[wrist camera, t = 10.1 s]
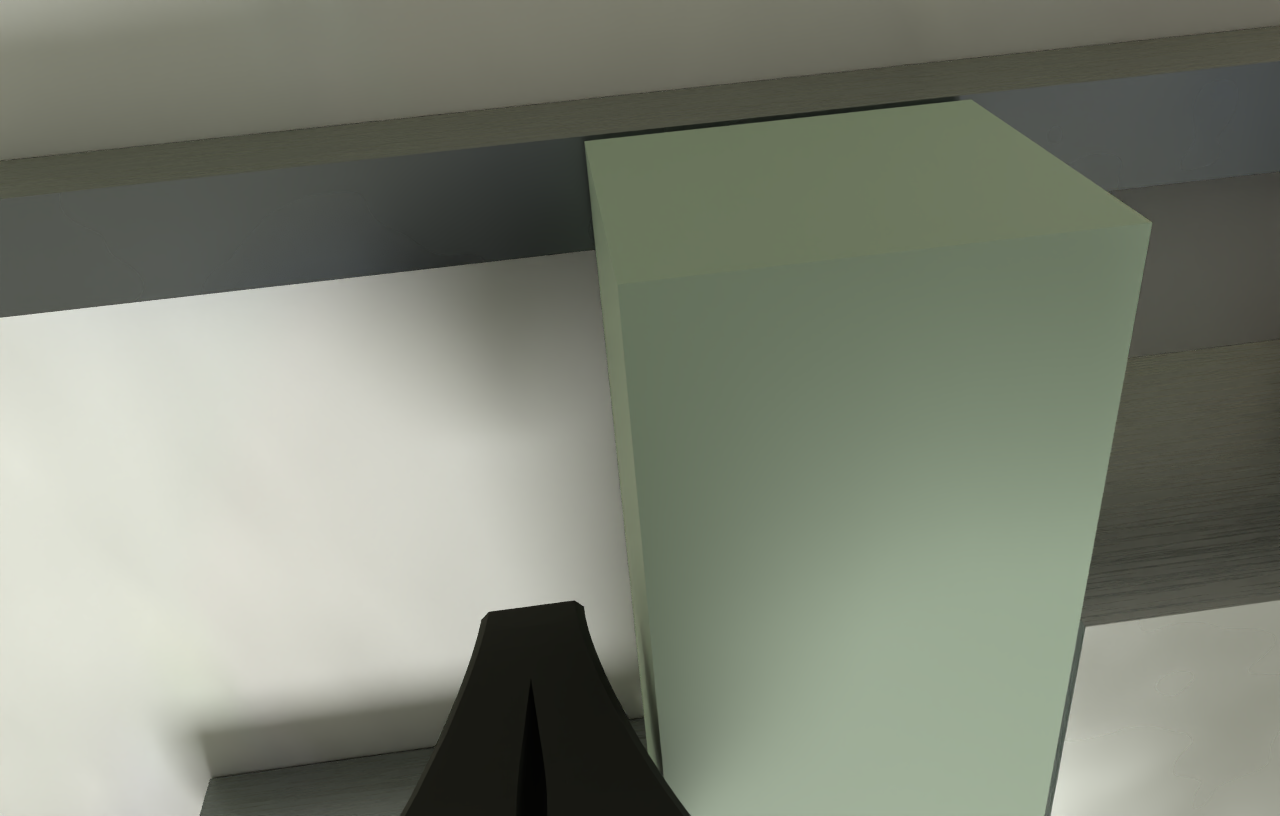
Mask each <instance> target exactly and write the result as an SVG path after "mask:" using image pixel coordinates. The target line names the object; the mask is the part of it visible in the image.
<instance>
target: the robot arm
mask: <svg viewBox="0 0 1280 816" xmlns="http://www.w3.org/2000/svg"><path fill="white" fill-rule="evenodd" d="M400 816H691V815H690V814H689V813H688V811H687V810H686V809H685V807H684V806H683V805H682V803H681V802H680V801H679V799H678V798H677V796H676V795H675V793H674V792H673V791H672V789H671V788H670V786H669V785H668V783H667V782H666V780H665V779H664V777H663V776H662V774H661V773H660V771H659V770H658V768H657V767H656V765H655V763H654V762H653V760H652V759H651V757H650V755H649V754H648V752H647V751H646V749H645V747H644V746H643V744H642V743H641V741H640V739H639V737H638V736H637V734H636V732H635V730H634V729H633V727H632V725H631V723H630V722H629V720H628V718H627V716H626V714H625V712H624V710H623V708H622V706H621V704H620V703H619V701H618V699H617V697H616V695H615V693H614V691H613V689H612V687H611V685H610V683H609V681H608V679H607V676H606V674H605V672H604V670H603V667H602V665H601V663H600V660H599V658H598V655H597V653H596V650H595V648H594V645H593V642H592V639H591V636H590V633H589V630H588V626H587V622H586V618H585V611H584V606H582V605H581V604H579V603H578V602H576V601H567V602H560V603H552V604H545V605H537V606H530V607H522V608H515V609H507V610H500V611H492V612H488V613H487V615H486V616H485V617H484V618H483V619H482V620H481V624H480V628H479V633H478V637H477V640H476V643H475V647H474V650H473V653H472V656H471V660H470V662H469V665H468V668H467V671H466V674H465V677H464V679H463V682H462V685H461V687H460V690H459V693H458V695H457V698H456V700H455V702H454V705H453V707H452V709H451V712H450V714H449V716H448V719H447V721H446V724H445V726H444V728H443V731H442V733H441V735H440V738H439V740H438V742H437V744H436V746H435V749H434V751H433V753H432V755H431V757H430V759H429V761H428V763H427V765H426V767H425V769H424V771H423V773H422V775H421V777H420V779H419V781H418V783H417V785H416V787H415V789H414V791H413V793H412V795H411V797H410V798H409V800H408V802H407V804H406V806H405V808H404V809H403V811H402V813H401V815H400Z"/></svg>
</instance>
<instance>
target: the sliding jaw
mask: <svg viewBox="0 0 1280 816" xmlns="http://www.w3.org/2000/svg"><path fill="white" fill-rule="evenodd" d="M584 143H585V153H586V162H587V172H588V181H589V191H590V201H591V210H592V220H593V230H594V239H595V249H596V259H597V268H598V278H599V287H600V297H601V307H602V316H603V326H604V336H605V345H606V355H607V364H608V374H609V384H610V393H611V403H612V413H613V422H614V432H615V442H616V451H617V461H618V470H619V480H620V490H621V499H622V509H623V519H624V528H625V538H626V547H627V557H628V567H629V576H630V586H631V596H632V605H633V615H634V625H635V634H636V644H637V653H638V663H639V673H640V682H641V692H642V702H643V711H644V721H645V730H646V740H647V750H648V754H649V755H650V757H651V759H652V760H653V762H654V763H655V765H656V767H657V768H658V770H659V771H660V773H661V774H662V776H663V777H664V779H665V780H666V782H667V783H668V785H669V786H670V788H671V789H672V791H673V792H674V793H675V795H676V796H677V798H678V799H679V801H680V802H681V803H682V805H683V806H684V807H685V809H686V810H687V811H688V813H689V814H690V815H691V816H1044V815H1045V809H1046V804H1047V798H1048V793H1049V787H1050V782H1051V776H1052V771H1053V765H1054V760H1055V755H1056V749H1057V744H1058V738H1059V733H1060V727H1061V722H1062V716H1063V711H1064V705H1065V700H1066V694H1067V689H1068V683H1069V678H1070V672H1071V667H1072V661H1073V656H1074V650H1075V645H1076V639H1077V634H1078V628H1079V623H1080V617H1081V612H1082V606H1083V601H1084V595H1085V590H1086V585H1087V579H1088V574H1089V568H1090V563H1091V557H1092V552H1093V546H1094V541H1095V535H1096V530H1097V524H1098V519H1099V513H1100V508H1101V502H1102V497H1103V491H1104V486H1105V480H1106V475H1107V469H1108V464H1109V458H1110V453H1111V447H1112V442H1113V436H1114V431H1115V425H1116V420H1117V414H1118V409H1119V404H1120V398H1121V393H1122V387H1123V382H1124V376H1125V371H1126V365H1127V360H1128V354H1129V349H1130V343H1131V338H1132V332H1133V327H1134V321H1135V316H1136V310H1137V305H1138V299H1139V294H1140V288H1141V283H1142V277H1143V272H1144V266H1145V261H1146V255H1147V250H1148V244H1149V239H1150V234H1151V228H1152V223H1153V222H1151V221H1150V220H1148V219H1147V218H1145V217H1144V216H1142V215H1141V214H1139V213H1138V212H1136V211H1135V210H1133V209H1132V208H1131V207H1129V206H1128V205H1126V204H1125V203H1123V202H1122V201H1120V200H1119V199H1117V198H1116V197H1114V196H1113V195H1111V194H1110V193H1108V192H1107V191H1105V190H1104V189H1103V188H1101V187H1100V186H1098V185H1097V184H1095V183H1094V182H1092V181H1091V180H1089V179H1088V178H1086V177H1085V176H1083V175H1082V174H1080V173H1079V172H1077V171H1076V170H1075V169H1073V168H1072V167H1070V166H1069V165H1067V164H1066V163H1064V162H1063V161H1061V160H1060V159H1058V158H1057V157H1055V156H1054V155H1052V154H1051V153H1049V152H1048V151H1047V150H1045V149H1044V148H1042V147H1041V146H1039V145H1038V144H1036V143H1035V142H1033V141H1032V140H1030V139H1029V138H1027V137H1026V136H1024V135H1023V134H1021V133H1020V132H1018V131H1017V130H1016V129H1014V128H1013V127H1011V126H1010V125H1008V124H1007V123H1005V122H1004V121H1002V120H1001V119H999V118H998V117H996V116H995V115H993V114H992V113H990V112H989V111H988V110H986V109H985V108H983V107H982V106H980V105H979V104H977V103H976V102H974V101H973V100H961V101H952V102H943V103H934V104H924V105H915V106H906V107H896V108H887V109H878V110H869V111H859V112H850V113H841V114H832V115H822V116H813V117H804V118H795V119H785V120H776V121H767V122H758V123H748V124H739V125H730V126H721V127H711V128H702V129H693V130H684V131H674V132H665V133H656V134H647V135H637V136H628V137H619V138H610V139H600V140H591V141H584Z"/></svg>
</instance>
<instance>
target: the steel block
mask: <svg viewBox="0 0 1280 816" xmlns="http://www.w3.org/2000/svg"><path fill="white" fill-rule="evenodd" d="M1044 816H1280V339H1278V340H1270V341H1262V342H1254V343H1246V344H1238V345H1230V346H1222V347H1214V348H1206V349H1197V350H1189V351H1181V352H1173V353H1165V354H1157V355H1149V356H1141V357H1133V358H1128V360H1127V365H1126V371H1125V376H1124V382H1123V387H1122V393H1121V398H1120V404H1119V409H1118V414H1117V420H1116V425H1115V431H1114V436H1113V442H1112V447H1111V453H1110V458H1109V464H1108V469H1107V475H1106V480H1105V486H1104V491H1103V497H1102V502H1101V508H1100V513H1099V519H1098V524H1097V530H1096V535H1095V541H1094V546H1093V552H1092V557H1091V563H1090V568H1089V574H1088V579H1087V585H1086V590H1085V595H1084V601H1083V606H1082V612H1081V617H1080V623H1079V628H1078V634H1077V639H1076V645H1075V650H1074V656H1073V661H1072V667H1071V672H1070V678H1069V683H1068V689H1067V694H1066V700H1065V705H1064V711H1063V716H1062V722H1061V727H1060V733H1059V738H1058V744H1057V749H1056V755H1055V760H1054V765H1053V771H1052V776H1051V782H1050V787H1049V793H1048V798H1047V804H1046V809H1045V815H1044Z"/></svg>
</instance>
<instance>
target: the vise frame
mask: <svg viewBox="0 0 1280 816" xmlns="http://www.w3.org/2000/svg"><path fill="white" fill-rule="evenodd" d="M961 100H973V101H974V102H976V103H977V104H979V105H980V106H982V107H983V108H985V109H986V110H988V111H989V112H990V113H992V114H993V115H995V116H996V117H998V118H999V119H1001V120H1002V121H1004V122H1005V123H1007V124H1008V125H1010V126H1011V127H1013V128H1014V129H1016V130H1017V131H1018V132H1020V133H1021V134H1023V135H1024V136H1026V137H1027V138H1029V139H1030V140H1032V141H1033V142H1035V143H1036V144H1038V145H1039V146H1041V147H1042V148H1044V149H1045V150H1047V151H1048V152H1049V153H1051V154H1052V155H1054V156H1055V157H1057V158H1058V159H1060V160H1061V161H1063V162H1064V163H1066V164H1067V165H1069V166H1070V167H1072V168H1073V169H1075V170H1076V171H1077V172H1079V173H1080V174H1082V175H1083V176H1085V177H1086V178H1088V179H1089V180H1091V181H1092V182H1094V183H1095V184H1097V185H1098V186H1100V187H1101V188H1103V189H1104V190H1105V191H1114V190H1123V189H1132V188H1141V187H1150V186H1158V185H1167V184H1176V183H1185V182H1193V181H1202V180H1211V179H1220V178H1228V177H1237V176H1246V175H1255V174H1264V173H1272V172H1280V26H1273V27H1263V28H1254V29H1244V30H1235V31H1225V32H1216V33H1207V34H1197V35H1188V36H1178V37H1169V38H1159V39H1150V40H1140V41H1131V42H1121V43H1112V44H1103V45H1093V46H1084V47H1074V48H1065V49H1055V50H1046V51H1036V52H1027V53H1017V54H1008V55H999V56H989V57H980V58H970V59H961V60H951V61H942V62H932V63H923V64H913V65H904V66H895V67H885V68H876V69H866V70H857V71H847V72H838V73H828V74H819V75H809V76H800V77H791V78H781V79H772V80H762V81H753V82H743V83H734V84H724V85H715V86H705V87H696V88H687V89H677V90H668V91H658V92H649V93H639V94H630V95H620V96H611V97H601V98H592V99H583V100H573V101H564V102H554V103H545V104H535V105H526V106H516V107H507V108H497V109H488V110H479V111H469V112H460V113H450V114H441V115H431V116H422V117H412V118H403V119H394V120H384V121H375V122H365V123H356V124H346V125H337V126H327V127H318V128H308V129H299V130H290V131H280V132H271V133H261V134H252V135H242V136H233V137H223V138H214V139H204V140H195V141H186V142H176V143H167V144H157V145H148V146H138V147H129V148H119V149H110V150H100V151H91V152H82V153H72V154H63V155H53V156H44V157H34V158H25V159H15V160H6V161H0V318H1V317H10V316H18V315H27V314H36V313H45V312H53V311H62V310H71V309H80V308H88V307H97V306H106V305H115V304H124V303H132V302H141V301H150V300H159V299H167V298H176V297H185V296H194V295H202V294H211V293H220V292H229V291H238V290H246V289H255V288H264V287H273V286H281V285H290V284H299V283H308V282H316V281H325V280H334V279H343V278H352V277H360V276H369V275H378V274H387V273H395V272H404V271H413V270H422V269H430V268H439V267H448V266H457V265H466V264H474V263H483V262H492V261H501V260H509V259H518V258H527V257H536V256H544V255H553V254H562V253H571V252H580V251H588V250H596V249H595V239H594V230H593V220H592V210H591V201H590V191H589V181H588V172H587V162H586V153H585V143H584V141H591V140H600V139H610V138H619V137H628V136H637V135H647V134H656V133H665V132H674V131H684V130H693V129H702V128H711V127H721V126H730V125H739V124H748V123H758V122H767V121H776V120H785V119H795V118H804V117H813V116H822V115H832V114H841V113H850V112H859V111H869V110H878V109H887V108H896V107H906V106H915V105H924V104H934V103H943V102H952V101H961ZM629 722H630V723H631V725H632V727H633V729H634V730H635V732H636V734H637V736H638V737H639V739H640V741H641V743H642V744H643V746H644V747H645V749H646V751H647V752H648V750H647V740H646V730H645V721H644V718H642V719H634V720H629ZM434 749H435V747H434V748H427V749H420V750H413V751H406V752H399V753H391V754H384V755H377V756H370V757H363V758H356V759H349V760H341V761H334V762H327V763H320V764H313V765H306V766H299V767H291V768H284V769H277V770H270V771H263V772H256V773H249V774H241V775H234V776H227V777H220V778H213V779H210V782H209V785H208V789H207V792H206V795H205V799H204V802H203V806H202V809H201V813H200V816H400V815H401V813H402V811H403V809H404V808H405V806H406V804H407V802H408V800H409V798H410V797H411V795H412V793H413V791H414V789H415V787H416V785H417V783H418V781H419V779H420V777H421V775H422V773H423V771H424V769H425V767H426V765H427V763H428V761H429V759H430V757H431V755H432V753H433V751H434Z"/></svg>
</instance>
